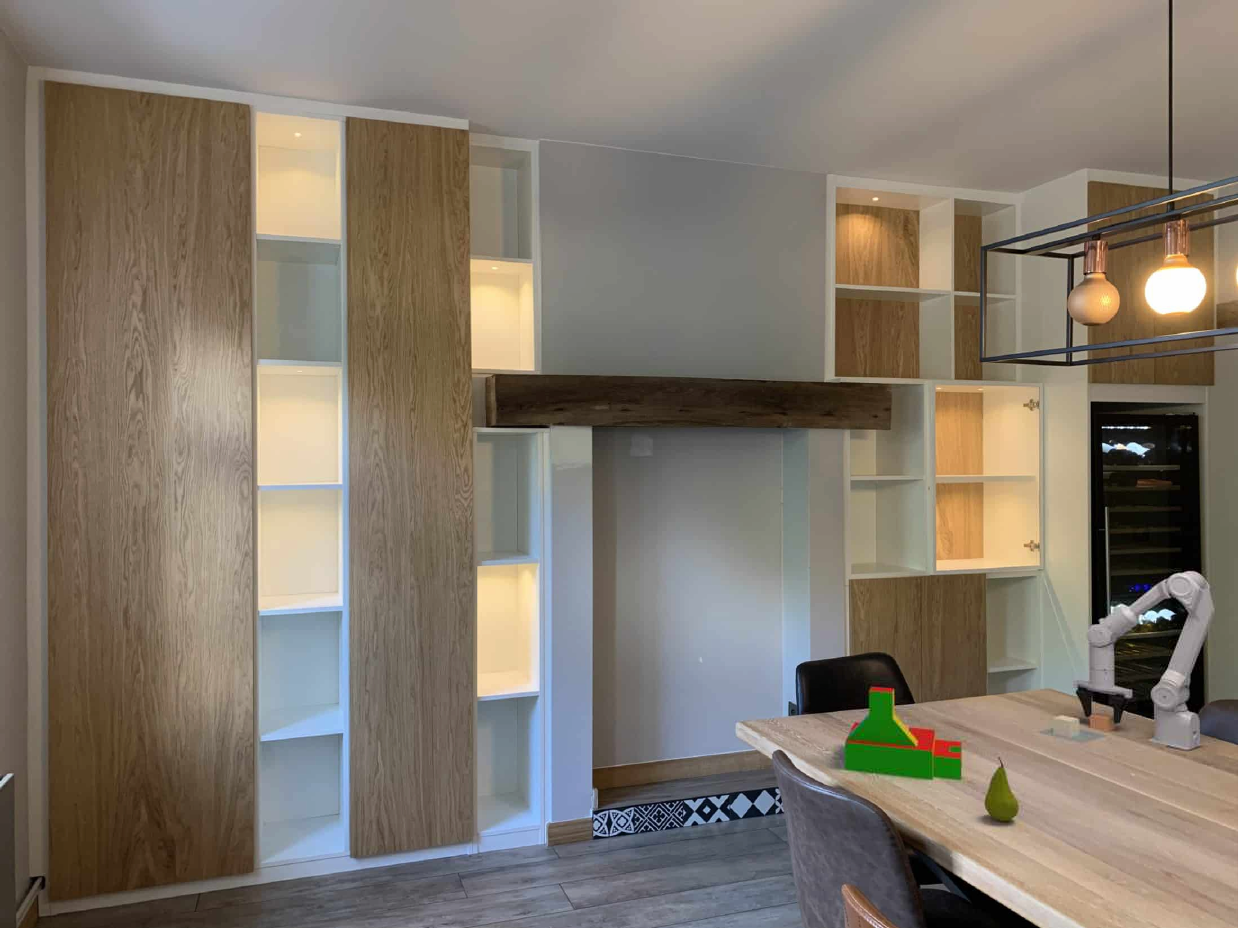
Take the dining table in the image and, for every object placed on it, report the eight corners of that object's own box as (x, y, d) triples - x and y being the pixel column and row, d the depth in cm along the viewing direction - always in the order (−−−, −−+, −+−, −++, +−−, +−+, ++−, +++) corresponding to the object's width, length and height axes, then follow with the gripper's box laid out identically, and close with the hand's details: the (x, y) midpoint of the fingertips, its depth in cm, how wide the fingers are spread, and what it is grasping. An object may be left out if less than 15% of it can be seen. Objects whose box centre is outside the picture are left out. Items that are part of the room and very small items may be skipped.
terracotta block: (1115, 731, 236) (1115, 716, 236) (1107, 734, 233) (1107, 718, 233) (1098, 727, 239) (1098, 712, 240) (1090, 730, 237) (1090, 715, 237)
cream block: (1079, 734, 231) (1079, 718, 231) (1070, 736, 228) (1070, 721, 228) (1062, 730, 234) (1062, 715, 235) (1053, 732, 232) (1053, 717, 232)
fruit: (1007, 828, 168) (1006, 764, 168) (977, 818, 173) (977, 756, 173) (1025, 820, 172) (1024, 758, 172) (995, 811, 177) (995, 751, 177)
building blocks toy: (961, 784, 194) (960, 700, 194) (845, 770, 203) (844, 690, 203) (961, 759, 211) (961, 683, 212) (854, 748, 220) (854, 675, 221)
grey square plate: (1107, 737, 230) (1107, 735, 230) (1083, 744, 223) (1083, 742, 223) (1061, 727, 239) (1061, 725, 239) (1037, 733, 233) (1037, 732, 233)
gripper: (1137, 671, 233) (1138, 723, 233) (1082, 662, 245) (1083, 711, 245) (1124, 674, 229) (1125, 727, 229) (1069, 665, 241) (1069, 715, 241)
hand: (1102, 719), depth 236 cm, fingers open, 7 cm apart
